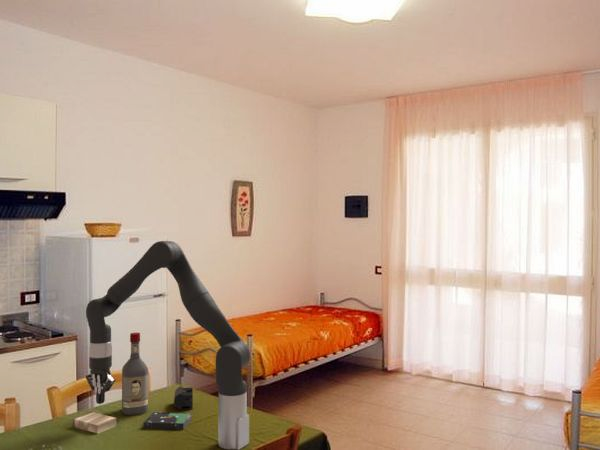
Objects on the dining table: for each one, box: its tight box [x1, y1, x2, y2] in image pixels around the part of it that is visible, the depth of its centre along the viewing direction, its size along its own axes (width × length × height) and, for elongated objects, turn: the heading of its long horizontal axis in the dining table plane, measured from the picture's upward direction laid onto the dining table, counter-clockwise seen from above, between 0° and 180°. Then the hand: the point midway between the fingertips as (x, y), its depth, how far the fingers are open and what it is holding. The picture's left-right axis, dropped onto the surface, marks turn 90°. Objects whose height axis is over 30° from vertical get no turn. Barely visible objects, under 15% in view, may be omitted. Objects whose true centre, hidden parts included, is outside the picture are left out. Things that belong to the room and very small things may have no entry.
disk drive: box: [142, 411, 193, 431], centre depth 189 cm, size 10×3×15 cm
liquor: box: [121, 332, 149, 416], centre depth 202 cm, size 9×9×30 cm
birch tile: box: [72, 411, 117, 434], centre depth 187 cm, size 3×8×13 cm
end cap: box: [173, 385, 194, 411], centre depth 207 cm, size 10×7×7 cm
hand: (100, 403), depth 185 cm, fingers closed
